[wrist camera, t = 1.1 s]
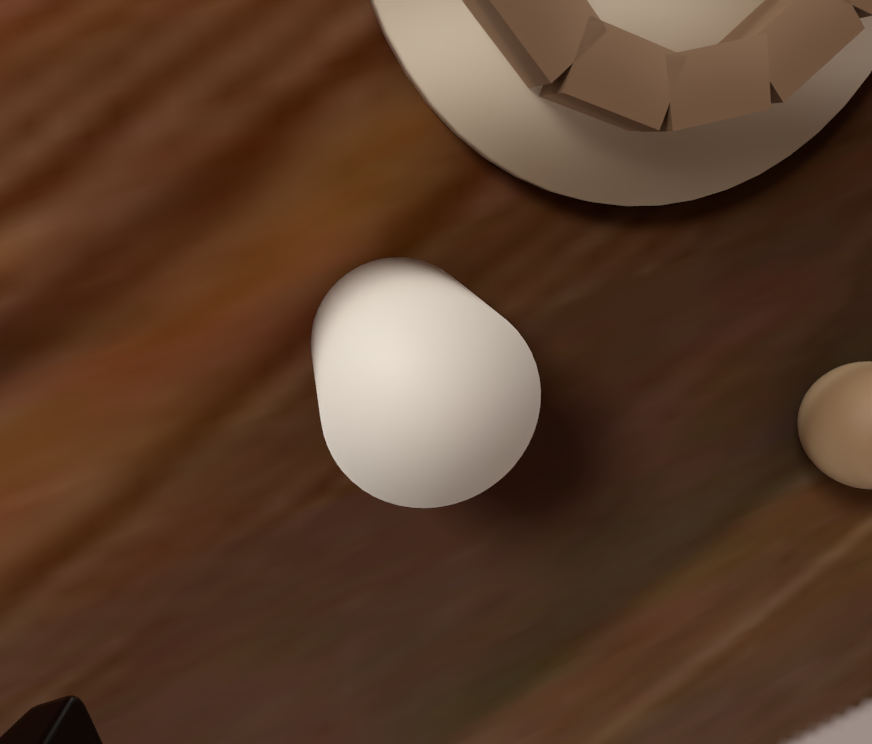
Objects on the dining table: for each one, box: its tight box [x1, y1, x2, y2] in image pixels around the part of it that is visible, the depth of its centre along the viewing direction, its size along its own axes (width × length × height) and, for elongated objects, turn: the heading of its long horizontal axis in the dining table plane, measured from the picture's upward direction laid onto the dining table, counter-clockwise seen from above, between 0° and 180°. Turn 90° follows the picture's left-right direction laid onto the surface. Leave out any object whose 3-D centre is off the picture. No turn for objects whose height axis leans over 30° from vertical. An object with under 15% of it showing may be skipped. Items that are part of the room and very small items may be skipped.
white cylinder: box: [311, 257, 541, 508], centre depth 17 cm, size 4×4×5 cm
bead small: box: [798, 361, 872, 489], centre depth 21 cm, size 4×4×4 cm
